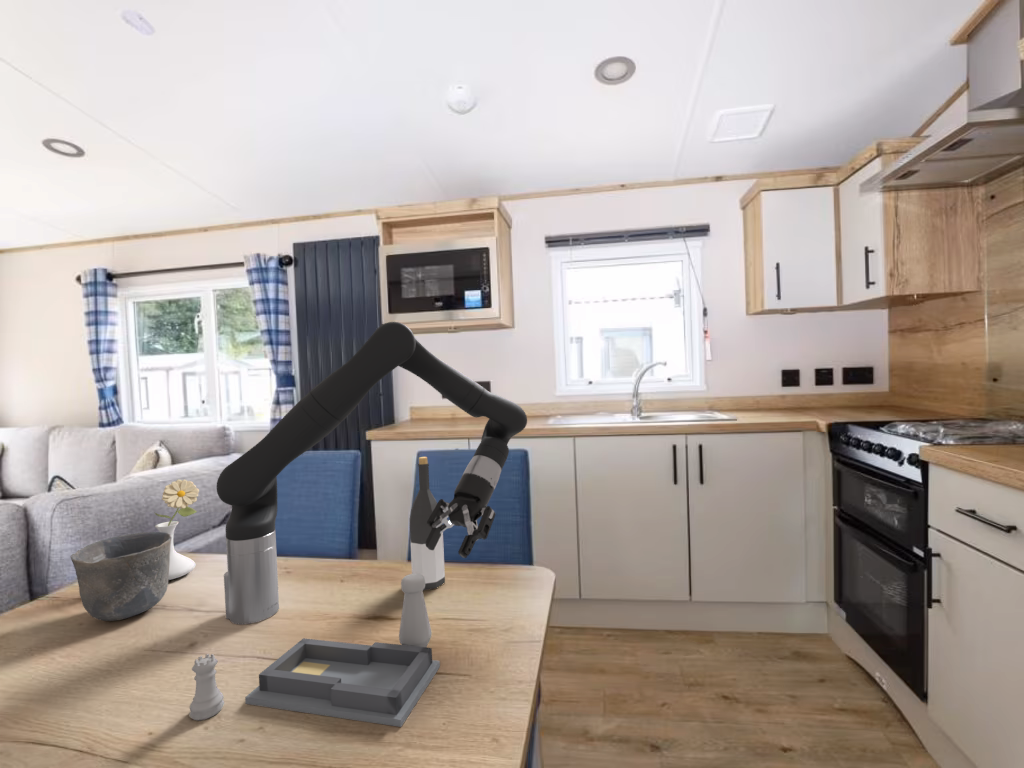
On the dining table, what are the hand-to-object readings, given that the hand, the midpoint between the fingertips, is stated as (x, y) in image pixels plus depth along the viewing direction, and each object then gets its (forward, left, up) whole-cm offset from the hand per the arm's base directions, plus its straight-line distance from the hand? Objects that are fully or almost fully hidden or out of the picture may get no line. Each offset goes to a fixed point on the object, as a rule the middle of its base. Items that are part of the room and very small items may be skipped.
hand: (445, 552), depth 93 cm
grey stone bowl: (-73, -6, -15) cm, 75 cm away
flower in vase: (-81, +12, -15) cm, 83 cm away
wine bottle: (-12, +18, -15) cm, 26 cm away
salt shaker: (-3, -8, -15) cm, 17 cm away
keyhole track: (-9, -20, -14) cm, 26 cm away
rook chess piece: (-27, -29, -15) cm, 42 cm away
